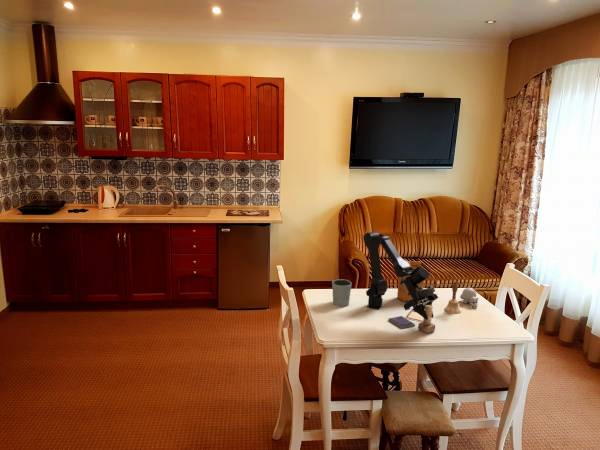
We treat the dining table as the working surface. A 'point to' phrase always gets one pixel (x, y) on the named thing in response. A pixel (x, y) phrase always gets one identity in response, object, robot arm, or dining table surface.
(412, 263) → the coffee package
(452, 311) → the hand bell
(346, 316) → the dining table surface
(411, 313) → the marked card
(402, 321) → the ink pad
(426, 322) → the stamp
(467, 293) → the round bodied animal figurine
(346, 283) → the grey cup
